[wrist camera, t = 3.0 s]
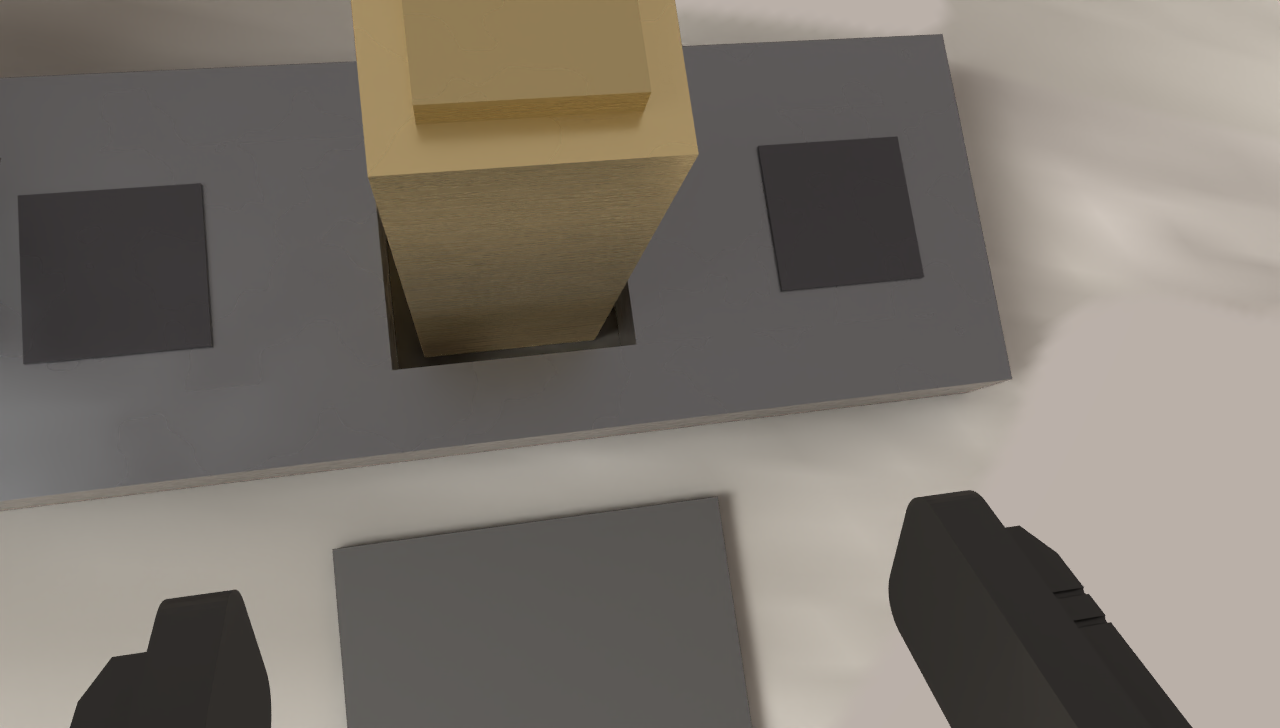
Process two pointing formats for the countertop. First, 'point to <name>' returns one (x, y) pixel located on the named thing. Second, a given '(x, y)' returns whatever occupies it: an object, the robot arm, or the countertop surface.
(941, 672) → the robot arm
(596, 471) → the countertop surface
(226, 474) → the grey slotted plate
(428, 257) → the wooden square peg
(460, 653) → the rubber mat
